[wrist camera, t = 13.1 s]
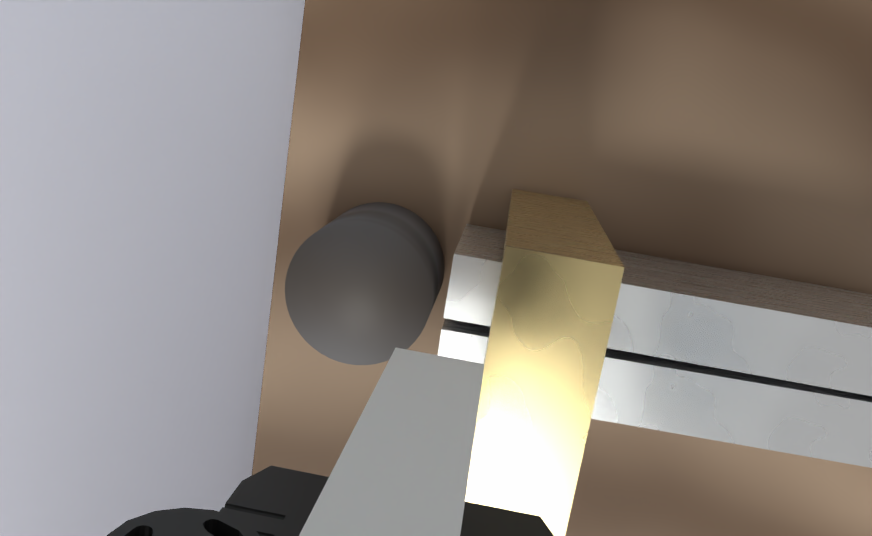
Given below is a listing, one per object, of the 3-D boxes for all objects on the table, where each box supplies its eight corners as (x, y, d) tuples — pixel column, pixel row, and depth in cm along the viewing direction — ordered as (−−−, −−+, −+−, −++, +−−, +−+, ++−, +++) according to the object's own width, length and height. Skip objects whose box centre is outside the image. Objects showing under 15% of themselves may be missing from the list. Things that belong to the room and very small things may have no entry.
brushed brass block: (547, 395, 22) (559, 560, 14) (477, 382, 22) (452, 538, 15) (587, 200, 21) (625, 267, 13) (512, 188, 21) (506, 246, 13)
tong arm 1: (448, 337, 22) (432, 390, 18) (456, 286, 22) (441, 329, 18) (1114, 451, 21) (1250, 534, 17) (1133, 398, 20) (1278, 471, 16)
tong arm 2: (457, 277, 22) (443, 317, 18) (467, 223, 21) (453, 253, 17) (1134, 397, 20) (1278, 470, 16) (1155, 343, 20) (1308, 405, 16)
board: (1094, 682, 24) (1213, 806, 19) (256, 510, 25) (205, 590, 21) (1353, 70, 19) (1574, 65, 15) (324, -84, 21) (277, -125, 17)
